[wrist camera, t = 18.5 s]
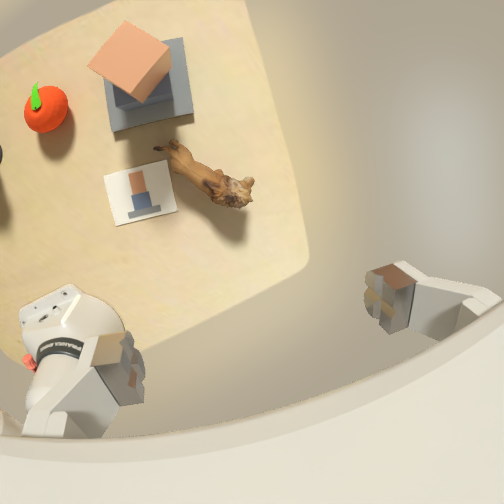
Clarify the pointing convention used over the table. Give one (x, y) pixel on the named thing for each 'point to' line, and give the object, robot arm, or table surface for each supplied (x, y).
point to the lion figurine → (209, 178)
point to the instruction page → (140, 192)
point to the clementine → (45, 108)
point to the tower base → (158, 108)
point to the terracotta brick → (133, 61)
